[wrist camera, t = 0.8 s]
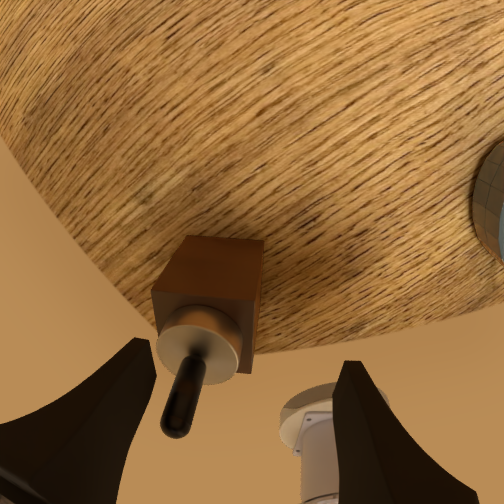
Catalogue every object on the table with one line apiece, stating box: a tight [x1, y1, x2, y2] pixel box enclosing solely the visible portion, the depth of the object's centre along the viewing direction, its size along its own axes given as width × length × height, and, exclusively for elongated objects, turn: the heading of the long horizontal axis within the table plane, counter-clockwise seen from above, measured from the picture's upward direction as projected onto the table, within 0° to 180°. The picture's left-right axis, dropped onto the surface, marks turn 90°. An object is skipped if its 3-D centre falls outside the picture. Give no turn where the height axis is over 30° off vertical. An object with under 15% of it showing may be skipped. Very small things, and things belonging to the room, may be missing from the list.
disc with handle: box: [156, 305, 243, 439], centre depth 13 cm, size 4×4×6 cm
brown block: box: [151, 235, 264, 374], centre depth 18 cm, size 5×5×6 cm
